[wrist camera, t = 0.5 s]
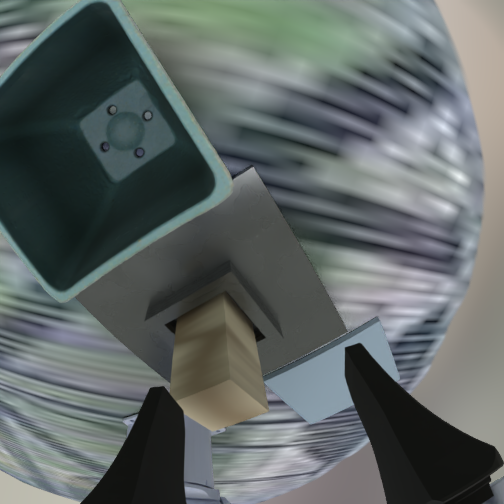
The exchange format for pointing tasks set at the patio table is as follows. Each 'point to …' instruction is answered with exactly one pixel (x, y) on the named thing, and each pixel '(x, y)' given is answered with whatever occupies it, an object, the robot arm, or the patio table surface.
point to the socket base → (219, 282)
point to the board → (328, 374)
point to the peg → (217, 365)
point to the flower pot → (97, 150)
